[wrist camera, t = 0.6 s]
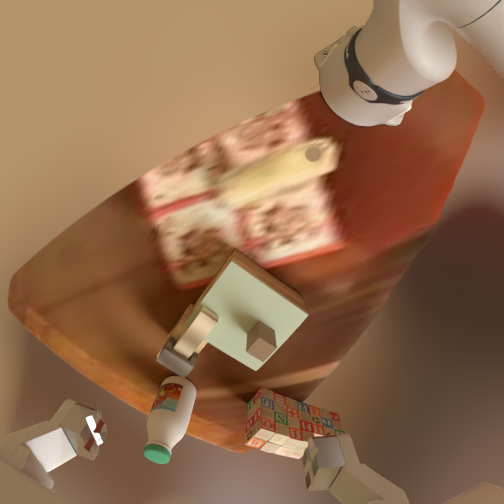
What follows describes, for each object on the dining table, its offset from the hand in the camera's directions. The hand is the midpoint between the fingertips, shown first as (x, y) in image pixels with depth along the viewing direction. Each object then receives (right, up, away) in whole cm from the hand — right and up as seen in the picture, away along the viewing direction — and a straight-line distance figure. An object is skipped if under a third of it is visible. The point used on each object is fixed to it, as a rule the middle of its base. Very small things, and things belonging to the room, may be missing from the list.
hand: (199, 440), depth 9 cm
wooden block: (-7, -5, +33) cm, 34 cm away
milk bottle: (-14, -22, +46) cm, 53 cm away
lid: (+1, -3, +34) cm, 34 cm away
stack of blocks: (+12, -29, +47) cm, 56 cm away
